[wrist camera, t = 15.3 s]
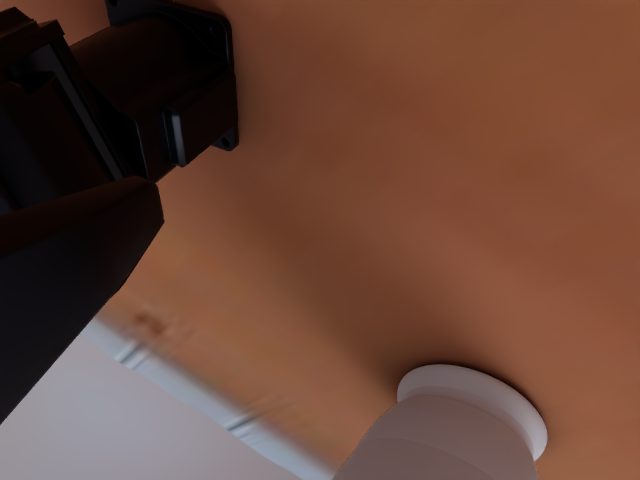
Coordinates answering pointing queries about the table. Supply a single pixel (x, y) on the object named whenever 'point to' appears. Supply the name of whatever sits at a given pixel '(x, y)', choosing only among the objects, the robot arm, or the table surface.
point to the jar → (451, 431)
